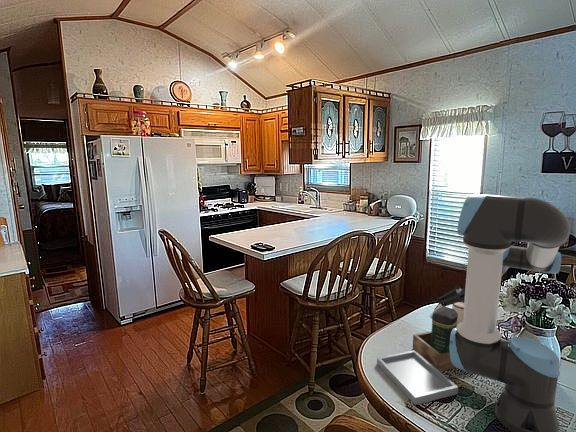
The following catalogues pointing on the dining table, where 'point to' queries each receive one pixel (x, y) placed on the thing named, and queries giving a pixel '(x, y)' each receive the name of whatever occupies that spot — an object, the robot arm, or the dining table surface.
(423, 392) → the grey flat rectangular tray
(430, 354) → the walnut tub
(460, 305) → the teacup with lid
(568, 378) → the dining table surface
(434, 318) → the coffee jar
